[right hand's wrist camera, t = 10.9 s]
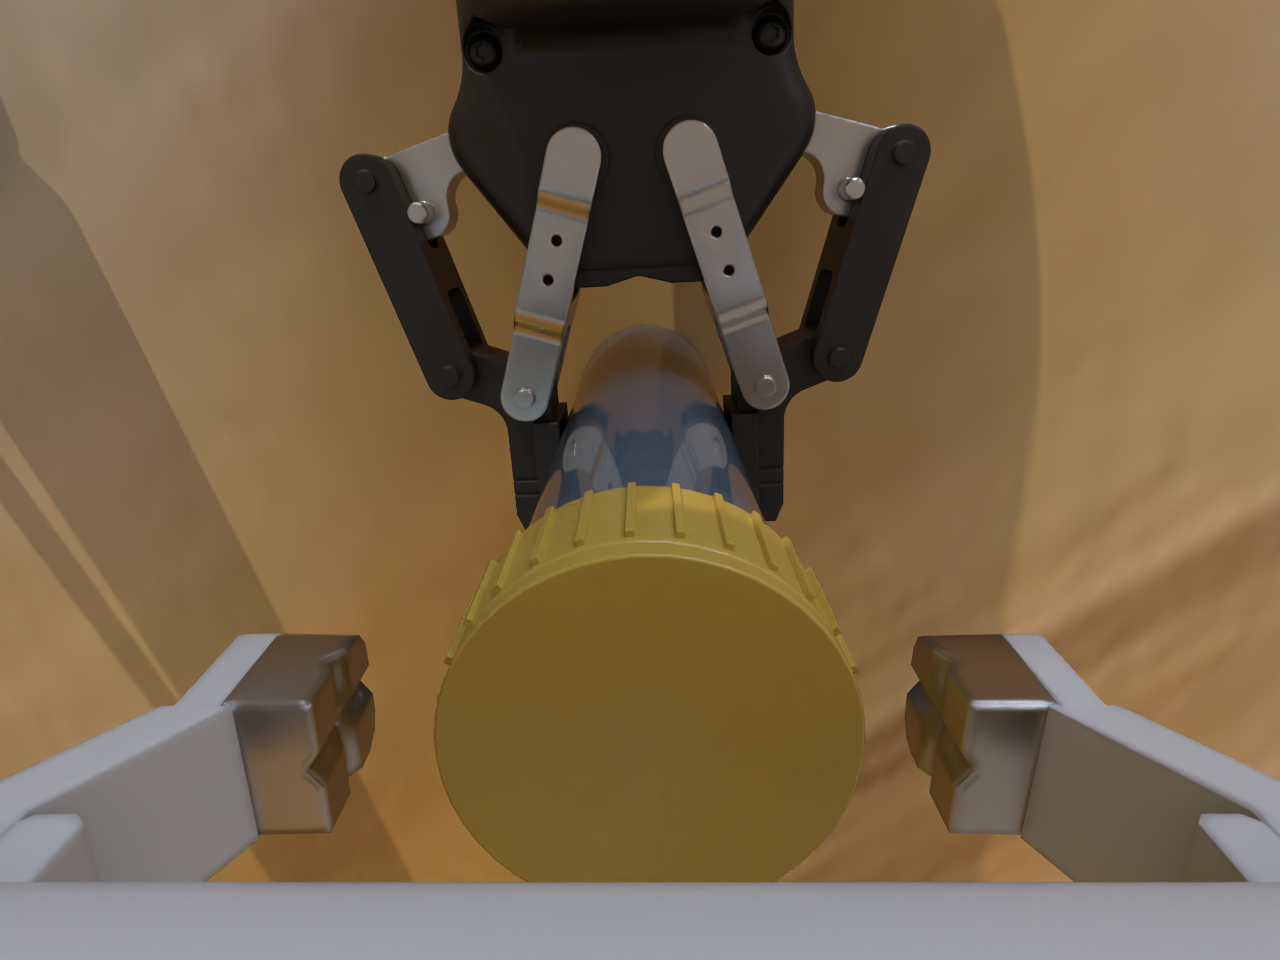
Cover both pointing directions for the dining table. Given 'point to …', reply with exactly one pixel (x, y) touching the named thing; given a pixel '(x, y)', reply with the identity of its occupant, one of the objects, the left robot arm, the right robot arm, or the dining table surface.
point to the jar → (646, 425)
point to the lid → (649, 697)
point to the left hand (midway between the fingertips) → (652, 533)
